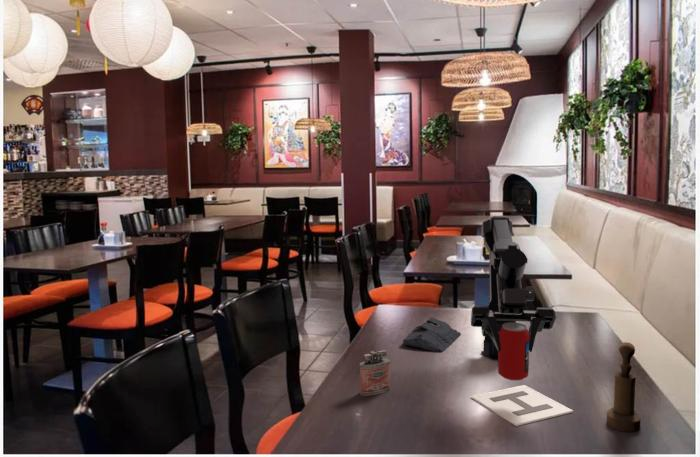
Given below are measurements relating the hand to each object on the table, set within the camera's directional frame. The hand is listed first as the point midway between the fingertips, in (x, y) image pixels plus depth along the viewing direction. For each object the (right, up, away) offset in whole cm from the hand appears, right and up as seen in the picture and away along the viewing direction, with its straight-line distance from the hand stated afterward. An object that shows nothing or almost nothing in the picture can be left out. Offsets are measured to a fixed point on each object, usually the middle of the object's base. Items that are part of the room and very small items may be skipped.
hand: (514, 350), depth 129 cm
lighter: (-31, -13, +11) cm, 35 cm away
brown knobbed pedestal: (+21, -14, -8) cm, 26 cm away
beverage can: (0, -7, +2) cm, 7 cm away
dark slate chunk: (-12, -8, +50) cm, 52 cm away
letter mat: (+2, -13, +3) cm, 13 cm away
